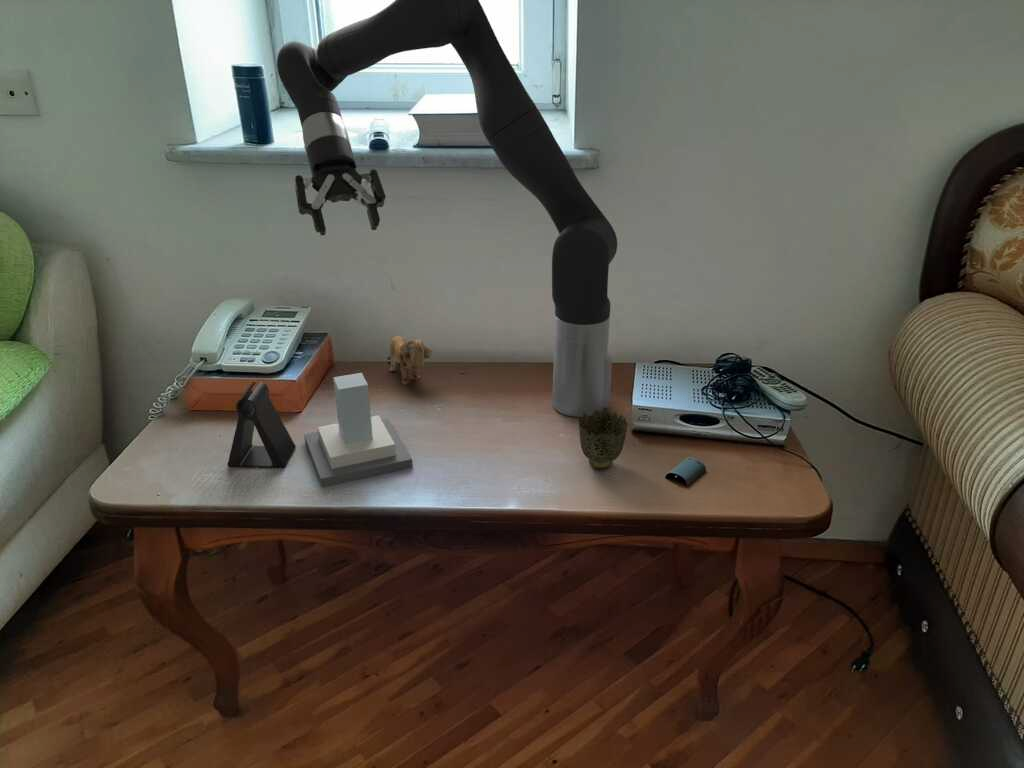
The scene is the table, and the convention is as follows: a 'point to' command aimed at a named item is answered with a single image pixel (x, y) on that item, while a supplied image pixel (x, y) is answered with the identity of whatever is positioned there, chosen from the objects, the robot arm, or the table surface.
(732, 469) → the table surface
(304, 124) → the robot arm
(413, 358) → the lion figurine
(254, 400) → the black phone stand
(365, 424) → the blue-grey block
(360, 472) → the display stand
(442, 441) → the table surface
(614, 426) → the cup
